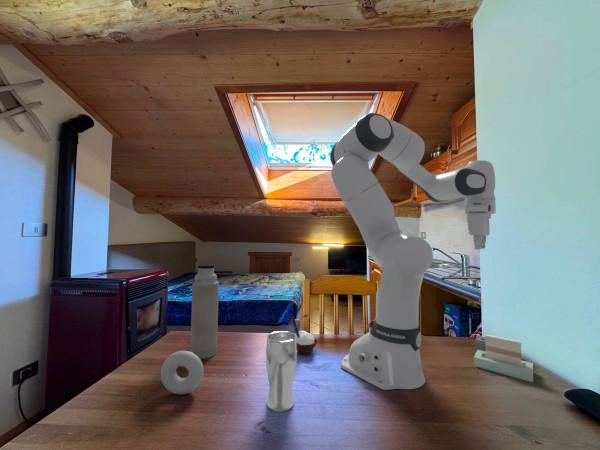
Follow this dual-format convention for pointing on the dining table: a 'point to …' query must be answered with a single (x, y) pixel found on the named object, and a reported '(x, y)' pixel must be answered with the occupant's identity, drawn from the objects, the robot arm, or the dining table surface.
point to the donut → (173, 380)
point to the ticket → (503, 350)
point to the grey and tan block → (480, 344)
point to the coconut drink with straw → (304, 340)
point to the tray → (504, 367)
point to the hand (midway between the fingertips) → (480, 249)
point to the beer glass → (281, 369)
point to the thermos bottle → (204, 312)
